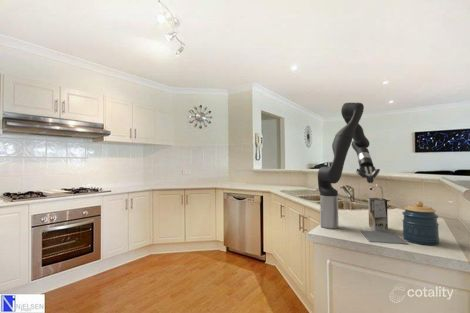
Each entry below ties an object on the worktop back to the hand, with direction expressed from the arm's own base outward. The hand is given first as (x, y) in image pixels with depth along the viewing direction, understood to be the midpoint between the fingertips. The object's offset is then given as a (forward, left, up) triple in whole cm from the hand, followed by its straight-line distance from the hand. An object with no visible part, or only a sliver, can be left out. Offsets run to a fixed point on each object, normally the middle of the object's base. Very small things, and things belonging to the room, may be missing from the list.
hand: (370, 182), depth 138 cm
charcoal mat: (-2, -26, -24) cm, 35 cm away
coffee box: (0, -12, -24) cm, 27 cm away
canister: (+13, -27, -24) cm, 39 cm away
